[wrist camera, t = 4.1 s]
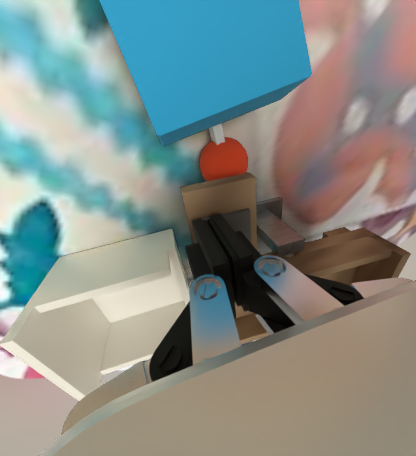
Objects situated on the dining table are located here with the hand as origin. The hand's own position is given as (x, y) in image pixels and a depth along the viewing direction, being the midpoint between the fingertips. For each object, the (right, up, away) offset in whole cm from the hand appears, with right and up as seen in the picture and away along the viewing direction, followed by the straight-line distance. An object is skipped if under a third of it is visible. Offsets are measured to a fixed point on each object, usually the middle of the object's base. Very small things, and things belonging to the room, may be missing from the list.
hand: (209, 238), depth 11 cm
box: (-7, -4, +7) cm, 11 cm away
